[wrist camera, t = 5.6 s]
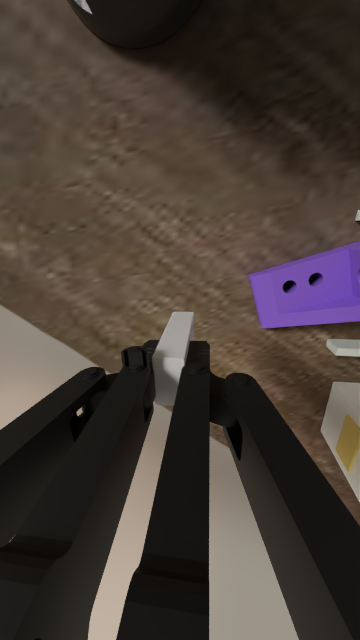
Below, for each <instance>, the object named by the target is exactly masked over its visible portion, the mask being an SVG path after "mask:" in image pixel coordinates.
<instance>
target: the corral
mask: <svg viewBox="0 0 360 640" xmlns="http://www.w3.org/2000/svg"><path fill="white" fill-rule="evenodd" d="M355 221H360V210H358V211H357V215H356V219H355ZM326 346H327V347H328V348H329V349H330V350H331V351H332V352H333V353H334V354H335V355H336V356H360V340H347V339H327V344H326Z"/></svg>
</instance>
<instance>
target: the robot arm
mask: <svg viewBox="0 0 360 640" xmlns="http://www.w3.org/2000/svg"><path fill="white" fill-rule="evenodd" d="M67 1H68V3H69V4H70V6H71V7H72V9H73V10H74V12H75V13H76V15H77V16H78V17H79V19H80V20H81V21H82V22H83V23H84V24H85V26H86V27H87V28H89V29H90V30H91V31H92V32H93V33H94V34H95V35H97V36H98V37H100V38H101V39H103V40H105V41H106V42H108V43H111V44H113V45H116V46H119V47H123V48H144V47H148V46H152V45H155V44H157V43H159V42H161V41H163V40H165V39H166V38H168V37H170V36H171V35H172V34H174V33H175V32H176V31H177V30H178V29H179V28H181V27H182V26H183V24H184V23H185V22H186V21H187V20H188V19H189V18H190V16H191V15H192V14H193V12H194V11H195V10H196V8H197V7H198V5H199V4H200V2H201V0H67ZM121 356H122V363H123V368H122V370H121V371H120V373H115V374H108V375H106V373H105V370H104V369H103V368H101V367H90V368H87V369H84V370H83V371H80V372H79V373H77V374H76V375H75V376H73V377H72V378H71V379H69V380H68V381H67V382H65V383H64V384H62V385H61V386H60V387H59V388H57V389H56V390H54V391H53V392H52V393H50V394H49V395H47V396H46V397H45V398H43V399H42V400H41V401H39V402H38V403H37V404H35V405H34V406H33V407H31V408H30V409H29V410H27V411H26V412H24V413H23V414H22V415H20V416H19V417H17V418H16V419H15V420H13V421H12V422H11V423H9V424H8V425H7V426H5V427H4V428H2V429H1V430H0V640H88V630H89V621H90V616H91V612H92V608H93V604H94V601H95V598H96V595H97V591H98V588H99V585H100V582H101V579H102V575H103V572H104V569H105V566H106V563H107V559H108V556H109V553H110V549H111V546H112V543H113V540H114V537H115V534H116V530H117V527H118V524H119V521H120V517H121V514H122V511H123V508H124V505H125V501H126V498H127V495H128V492H129V489H130V485H131V482H132V479H133V476H134V473H135V469H136V466H137V463H138V460H139V456H140V453H141V450H142V447H143V443H144V440H145V437H146V434H147V431H148V427H149V424H150V421H151V418H152V415H153V401H154V398H155V400H156V404H158V405H173V406H174V407H173V412H172V417H171V422H170V426H169V431H168V436H167V440H166V445H165V450H164V454H163V460H162V464H161V469H160V473H159V478H158V483H157V487H156V492H155V497H154V502H153V507H152V511H151V516H150V520H149V525H148V530H147V534H146V539H145V544H144V549H143V553H142V557H141V561H140V564H139V567H138V568H137V569H136V570H135V572H134V574H133V576H132V579H131V582H130V585H129V589H128V593H127V596H126V600H125V604H124V608H123V613H122V618H121V622H120V626H119V630H118V634H117V639H116V640H209V434H210V422H212V423H215V424H218V425H221V426H223V431H224V434H225V437H226V440H227V442H228V445H229V448H230V451H231V453H232V456H233V458H234V462H235V464H236V467H237V470H238V472H239V475H240V478H241V481H242V484H243V486H244V489H245V492H246V495H247V497H248V500H249V503H250V506H251V509H252V511H253V514H254V517H255V519H256V522H257V525H258V528H259V531H260V533H261V536H262V539H263V541H264V544H265V547H266V550H267V552H268V555H269V558H270V561H271V564H272V566H273V569H274V572H275V574H276V577H277V580H278V583H279V586H280V588H281V591H282V594H283V597H284V599H285V602H286V605H287V608H288V610H289V613H290V616H291V619H292V621H293V624H294V627H295V630H296V632H297V635H298V638H299V640H360V526H359V525H358V523H357V522H356V520H355V519H354V517H353V516H352V515H351V513H350V512H349V510H348V509H347V508H346V506H345V505H344V503H343V502H342V501H341V499H340V498H339V496H338V495H337V494H336V492H335V491H334V489H333V488H332V487H331V485H330V484H329V482H328V481H327V480H326V478H325V477H324V475H323V474H322V473H321V471H320V470H319V468H318V467H317V466H316V464H315V463H314V461H313V460H312V458H311V457H310V456H309V454H308V453H307V451H306V450H305V449H304V447H303V446H302V444H301V443H300V442H299V440H298V439H297V437H296V436H295V435H294V433H293V432H292V430H291V429H290V428H289V426H288V425H287V423H286V422H285V421H284V419H283V418H282V416H281V415H280V414H279V412H278V411H277V409H276V408H275V407H274V405H273V404H272V402H271V401H270V399H269V398H268V397H267V395H266V394H265V392H264V391H263V390H262V388H261V387H260V385H259V384H258V383H257V381H256V380H255V379H254V378H253V377H252V376H250V375H248V374H244V373H232V374H229V375H228V376H227V377H226V379H223V378H220V377H217V376H216V375H214V374H213V373H212V372H211V371H210V345H209V344H208V343H207V342H206V341H194V312H173V313H172V315H171V318H170V320H169V322H168V324H167V326H166V328H165V330H164V333H163V335H162V337H161V339H160V340H149V341H147V342H146V343H144V345H143V346H142V347H141V346H133V347H129V348H126V349H124V350H123V351H122V352H121ZM81 407H82V411H83V413H82V414H81V415H79V416H77V413H76V412H77V411H78V409H80V408H81ZM15 534H16V535H15ZM12 538H13V539H12ZM11 539H12V540H11ZM10 540H11V541H10Z"/></svg>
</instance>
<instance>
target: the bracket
mask: <svg viewBox="0 0 360 640" xmlns="http://www.w3.org/2000/svg"><path fill="white" fill-rule="evenodd" d="M314 273H318V276H317V279H316V280H315V281H314V282H313V283H311V284H309V282H308V280H309V277H310V276H311V275H312V274H314ZM249 279H250V283H251V288H252V292H253V296H254V300H255V304H256V309H257V313H258V317H259V321H260V325H261V327H262V328H276V327H289V326H302V325H315V324H328V323H342V322H355V321H360V242H355V243H352V244H349V245H346V246H342V247H339V248H336V249H332V250H329V251H326V252H322V253H319V254H316V255H312V256H309V257H306V258H302V259H299V260H296V261H292V262H289V263H286V264H283V265H279V266H276V267H273V268H269V269H266V270H263V271H259V272H256V273H253V274H249ZM289 280H292V281H293V285H292V287H291V288H290V289H289V290H287V291H283V284H284V283H285V282H286V281H289Z"/></svg>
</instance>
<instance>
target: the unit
mask: <svg viewBox="0 0 360 640" xmlns="http://www.w3.org/2000/svg"><path fill="white" fill-rule="evenodd" d="M320 431H321V433H322V434H323V436H324V438H325V440H326V442H327V444H328V445H329V447H330V449H331V451H332V453H333V455H334V456H335V458H336V460H337V462H338V464H339V466H340V467H341V469H342V471H343V473H344V475H345V477H346V478H347V480H348V482H349V484H350V486H351V487H352V489H353V491H354V493H355V495H356V497H357V498H358V500H359V502H360V383H350V382H333V384H332V388H331V392H330V396H329V400H328V403H327V407H326V411H325V415H324V419H323V422H322V426H321V430H320Z"/></svg>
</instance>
